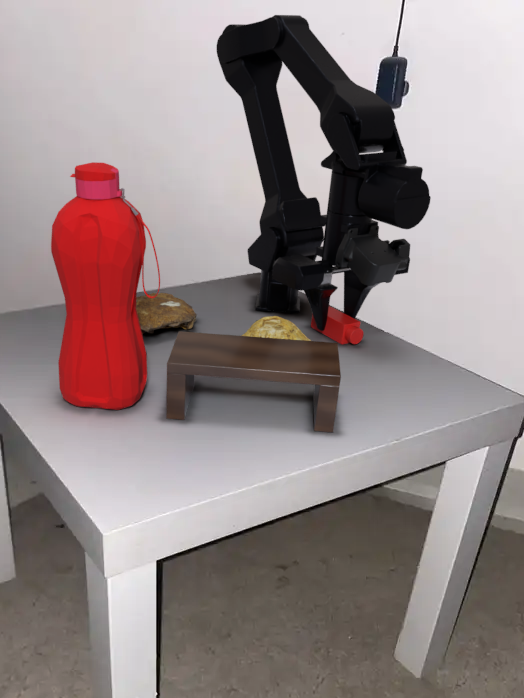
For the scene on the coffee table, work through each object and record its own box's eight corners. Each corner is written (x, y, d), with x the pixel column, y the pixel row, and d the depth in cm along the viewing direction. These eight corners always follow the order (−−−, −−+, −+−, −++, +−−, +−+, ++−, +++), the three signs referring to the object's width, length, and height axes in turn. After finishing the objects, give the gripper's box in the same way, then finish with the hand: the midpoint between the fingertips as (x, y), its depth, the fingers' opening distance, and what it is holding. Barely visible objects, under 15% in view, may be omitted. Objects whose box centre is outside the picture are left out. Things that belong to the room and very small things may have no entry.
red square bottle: (310, 327, 108) (312, 308, 107) (326, 324, 110) (328, 305, 108) (347, 348, 102) (350, 328, 101) (363, 344, 103) (366, 324, 102)
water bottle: (151, 418, 84) (151, 177, 71) (53, 409, 85) (36, 170, 72) (165, 382, 92) (168, 159, 79) (76, 374, 93) (64, 153, 80)
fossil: (285, 328, 91) (223, 307, 97) (274, 377, 93) (214, 353, 99) (337, 328, 99) (277, 309, 105) (326, 373, 101) (267, 351, 107)
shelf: (177, 383, 92) (178, 331, 88) (330, 395, 90) (337, 342, 86) (166, 418, 84) (166, 362, 81) (333, 432, 82) (341, 376, 79)
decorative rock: (125, 357, 99) (210, 334, 107) (126, 327, 96) (213, 306, 105) (74, 326, 105) (158, 307, 114) (74, 298, 103) (160, 280, 112)
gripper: (330, 234, 88) (315, 360, 96) (450, 218, 96) (426, 336, 104) (275, 211, 96) (265, 330, 104) (390, 199, 104) (372, 310, 112)
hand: (334, 327), depth 106 cm, fingers open, 4 cm apart
